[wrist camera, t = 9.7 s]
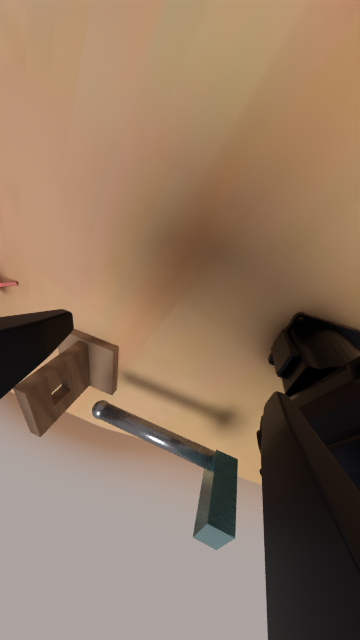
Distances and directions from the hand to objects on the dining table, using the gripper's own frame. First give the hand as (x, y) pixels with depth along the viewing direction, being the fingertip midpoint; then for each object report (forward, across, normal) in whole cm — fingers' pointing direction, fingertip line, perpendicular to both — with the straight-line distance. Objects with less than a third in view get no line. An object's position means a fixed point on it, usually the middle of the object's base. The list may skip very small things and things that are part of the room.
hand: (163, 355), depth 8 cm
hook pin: (+8, 0, +19) cm, 20 cm away
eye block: (+13, +15, +19) cm, 27 cm away
